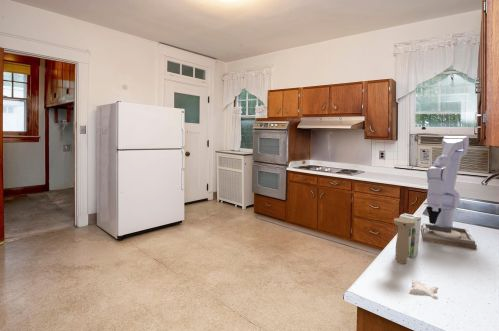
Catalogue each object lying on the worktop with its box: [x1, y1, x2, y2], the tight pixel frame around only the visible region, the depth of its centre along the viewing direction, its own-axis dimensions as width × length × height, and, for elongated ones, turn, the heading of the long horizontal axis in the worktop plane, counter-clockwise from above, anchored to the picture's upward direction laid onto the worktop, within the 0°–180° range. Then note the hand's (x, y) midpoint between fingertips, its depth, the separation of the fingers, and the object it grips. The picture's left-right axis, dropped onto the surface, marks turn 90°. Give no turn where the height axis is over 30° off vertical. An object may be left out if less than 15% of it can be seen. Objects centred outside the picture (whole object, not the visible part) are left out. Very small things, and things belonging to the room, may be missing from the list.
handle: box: [393, 217, 415, 265], centre depth 100 cm, size 5×6×15 cm
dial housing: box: [420, 222, 478, 250], centre depth 125 cm, size 18×18×3 cm
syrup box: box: [398, 213, 422, 258], centre depth 108 cm, size 6×6×14 cm
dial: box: [428, 223, 461, 238], centre depth 125 cm, size 12×10×3 cm
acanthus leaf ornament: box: [409, 278, 439, 300], centre depth 83 cm, size 8×7×2 cm
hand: (432, 223), depth 131 cm, fingers closed
